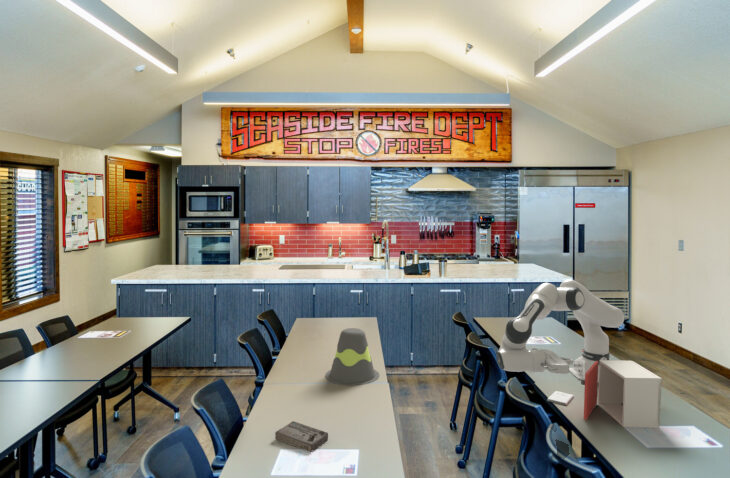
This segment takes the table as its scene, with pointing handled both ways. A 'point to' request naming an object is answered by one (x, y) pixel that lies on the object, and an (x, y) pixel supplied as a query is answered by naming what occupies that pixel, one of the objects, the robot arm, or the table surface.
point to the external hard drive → (560, 398)
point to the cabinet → (629, 393)
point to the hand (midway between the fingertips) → (571, 361)
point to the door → (590, 389)
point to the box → (301, 436)
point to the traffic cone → (352, 360)
